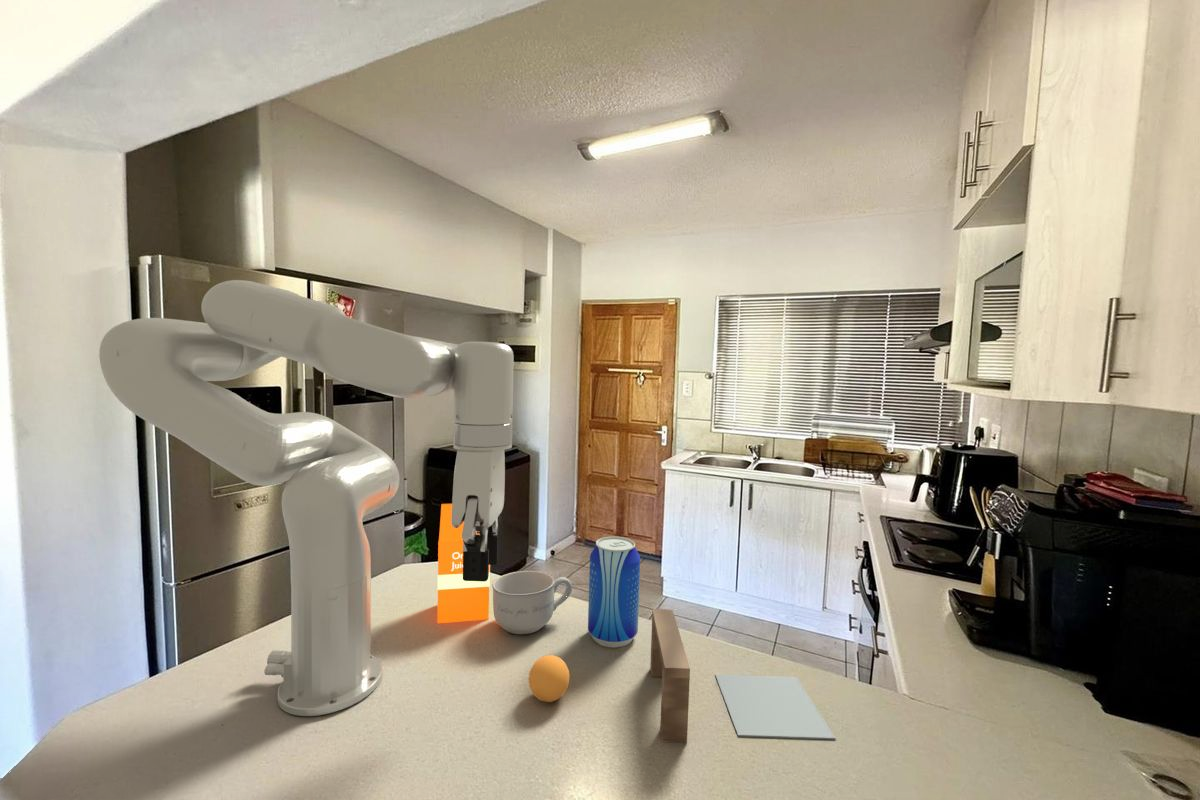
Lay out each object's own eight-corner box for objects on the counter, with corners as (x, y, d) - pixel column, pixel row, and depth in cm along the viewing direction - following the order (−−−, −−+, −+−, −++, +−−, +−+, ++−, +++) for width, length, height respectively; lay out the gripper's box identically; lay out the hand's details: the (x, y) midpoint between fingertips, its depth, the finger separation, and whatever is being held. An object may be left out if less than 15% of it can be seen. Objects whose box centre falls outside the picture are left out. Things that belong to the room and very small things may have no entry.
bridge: (662, 741, 58) (664, 667, 58) (650, 668, 73) (652, 608, 72) (687, 742, 58) (690, 668, 58) (670, 669, 73) (672, 609, 72)
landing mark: (737, 736, 60) (738, 734, 60) (715, 675, 72) (715, 674, 72) (835, 739, 60) (835, 737, 60) (796, 678, 72) (796, 676, 72)
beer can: (634, 653, 77) (637, 554, 76) (582, 646, 78) (585, 549, 78) (640, 626, 85) (643, 537, 84) (593, 620, 87) (596, 532, 86)
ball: (525, 711, 63) (526, 670, 63) (531, 684, 68) (532, 646, 68) (567, 712, 63) (568, 671, 63) (570, 685, 68) (571, 647, 68)
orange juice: (489, 619, 86) (491, 508, 85) (436, 623, 84) (438, 510, 83) (489, 599, 94) (491, 497, 92) (441, 602, 92) (442, 498, 91)
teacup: (489, 644, 78) (490, 595, 78) (493, 611, 89) (494, 568, 89) (575, 639, 80) (576, 592, 80) (569, 607, 91) (570, 566, 91)
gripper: (472, 428, 72) (470, 548, 73) (432, 444, 55) (430, 600, 56) (522, 429, 72) (519, 549, 73) (497, 446, 55) (494, 602, 56)
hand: (480, 570), depth 65 cm, fingers open, 4 cm apart
